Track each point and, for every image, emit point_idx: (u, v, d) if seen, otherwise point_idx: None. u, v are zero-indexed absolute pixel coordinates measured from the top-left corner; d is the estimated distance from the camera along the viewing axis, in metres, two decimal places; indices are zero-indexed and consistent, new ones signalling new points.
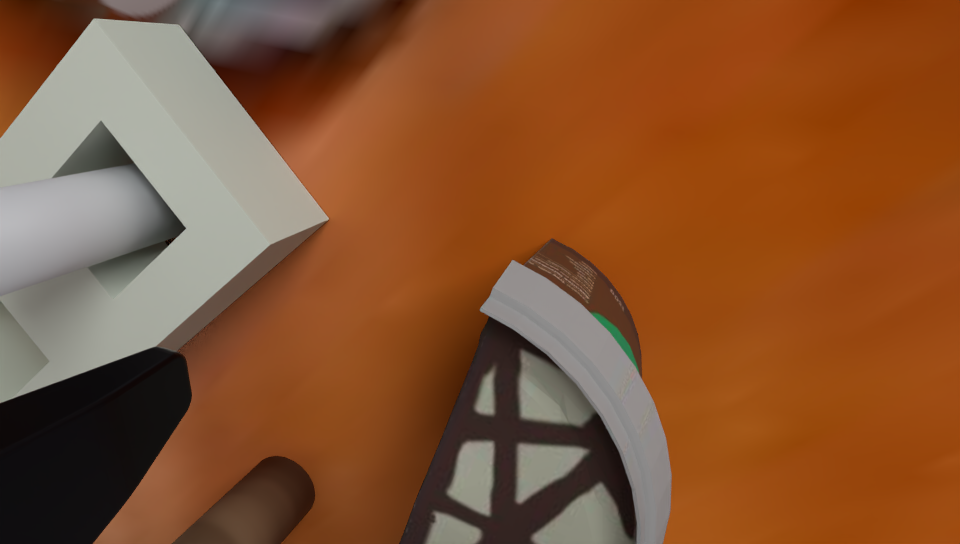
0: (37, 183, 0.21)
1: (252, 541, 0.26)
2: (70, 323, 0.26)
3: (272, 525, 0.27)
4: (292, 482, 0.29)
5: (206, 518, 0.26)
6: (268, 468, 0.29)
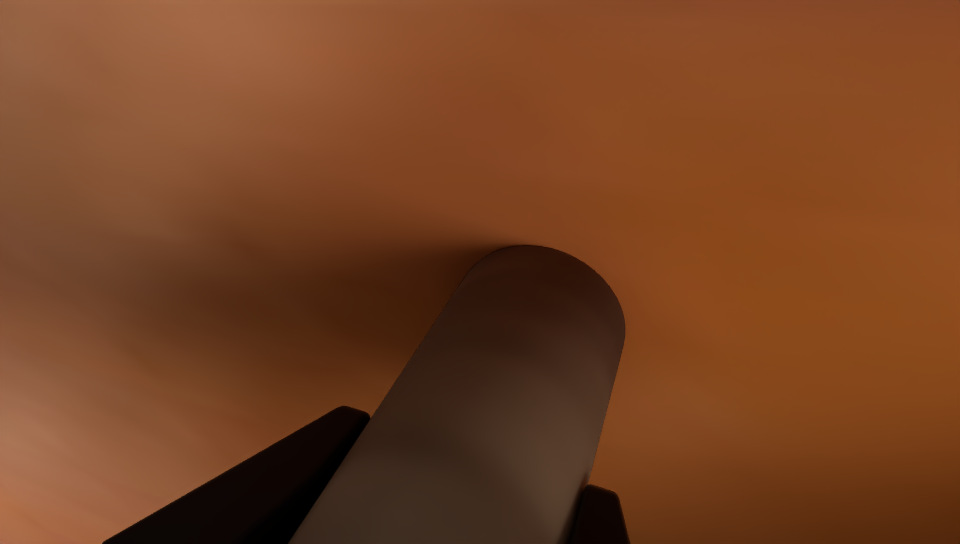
0: None
1: None
2: None
3: None
4: (614, 373, 0.11)
5: (506, 461, 0.08)
6: (591, 310, 0.11)
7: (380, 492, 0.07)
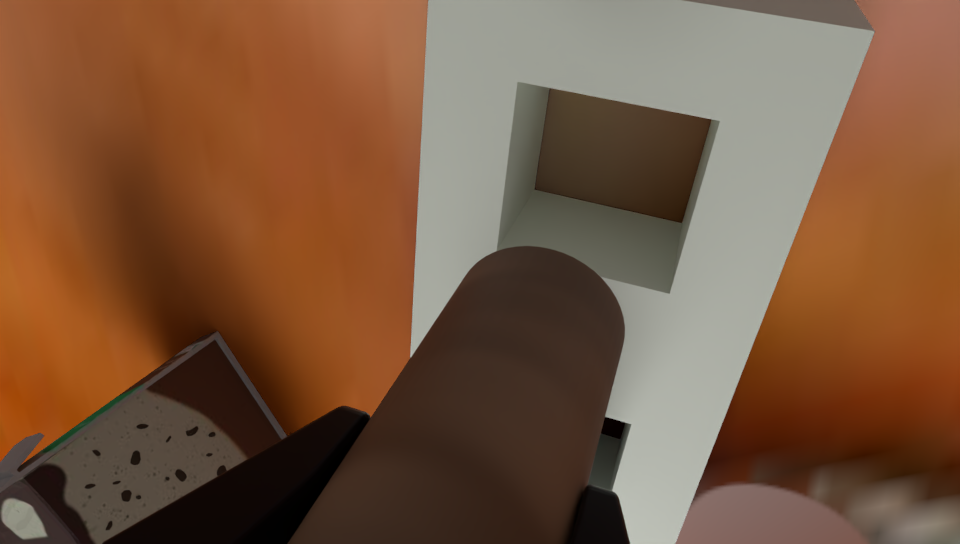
0: None
1: None
2: None
3: None
4: None
5: (505, 462, 0.08)
6: (591, 310, 0.11)
7: (377, 493, 0.07)
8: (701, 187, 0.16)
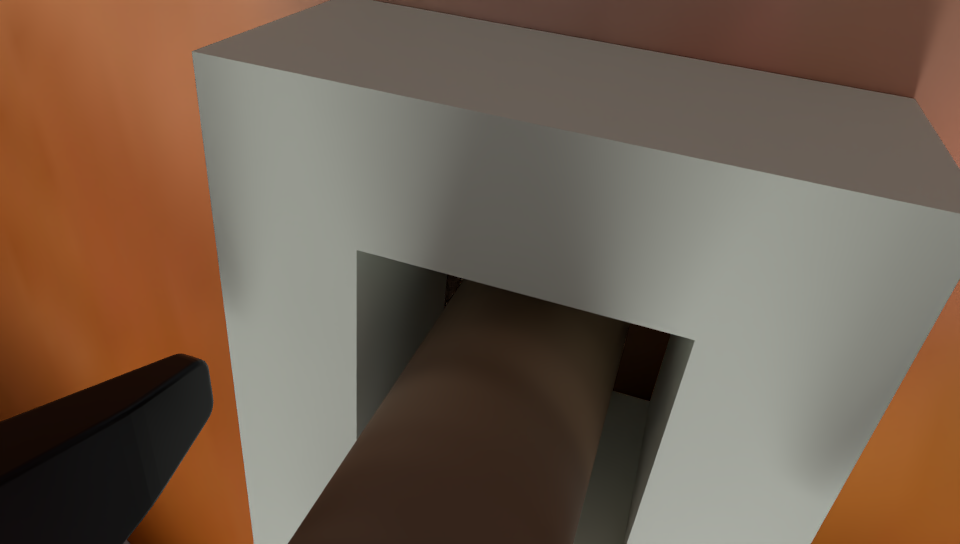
0: None
1: None
2: None
3: None
4: (628, 322, 0.12)
5: (540, 378, 0.09)
6: None
7: (432, 398, 0.08)
8: (665, 432, 0.09)
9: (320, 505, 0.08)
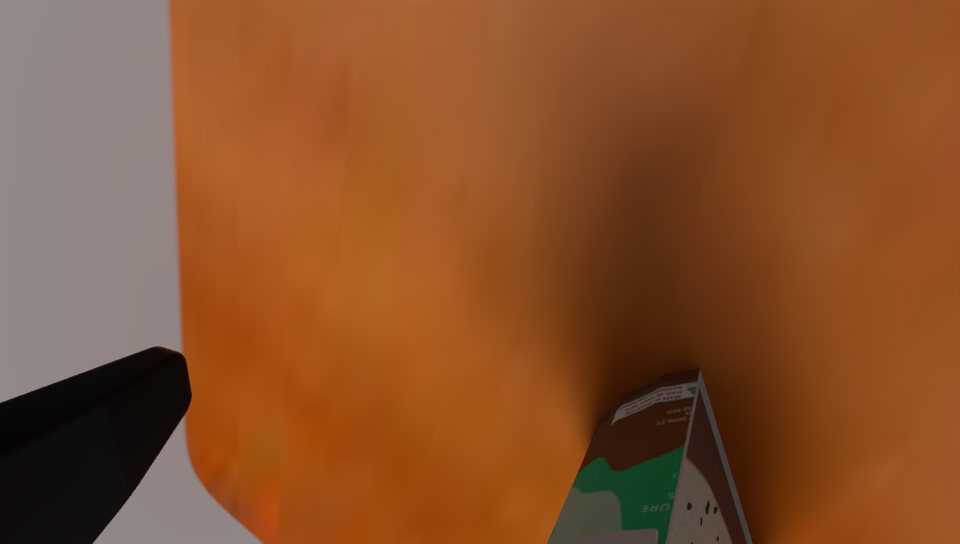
0: None
1: None
2: None
3: None
4: None
5: None
6: None
7: None
8: None
9: None
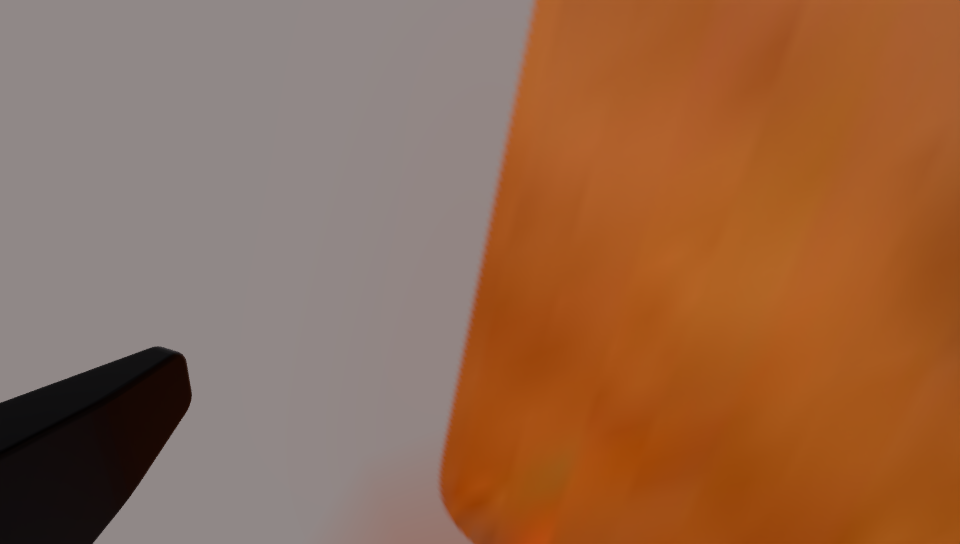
0: None
1: None
2: None
3: None
4: None
5: None
6: None
7: None
8: None
9: None
